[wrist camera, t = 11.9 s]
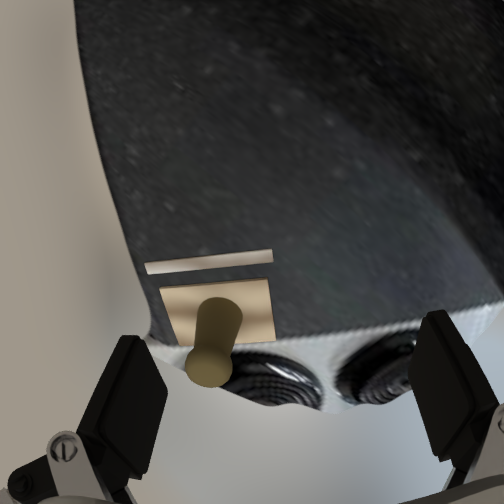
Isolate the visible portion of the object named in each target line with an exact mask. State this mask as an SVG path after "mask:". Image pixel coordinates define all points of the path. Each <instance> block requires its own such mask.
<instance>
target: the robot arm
mask: <svg viewBox="0 0 504 504" xmlns="http://www.w3.org/2000/svg"><path fill="white" fill-rule="evenodd" d="M408 379H409V382H410V384H411V387H412V390H413V393H414V396H415V398H416V401H417V404H418V407H419V410H420V413H421V416H422V420H423V423H424V426H425V429H426V432H427V435H428V439H429V442H430V445H431V449H432V452H433V454H434V456H438V458H439V461H440V462H443V461H446V460H449V459H451V461H452V465H453V469H452V471H451V473H450V475H449V477H448V479H447V481H446V483H445V485H444V487H443V489H442V491H441V492H439V493H436V494H432V495H429V496H426V497H422V498H418V499H415V500H411V501H407V502H403V503H399V504H504V403H503V404H501V405H500V404H499V402H498V400H497V398H496V396H495V394H494V392H493V390H492V388H491V386H490V384H489V382H488V380H487V378H486V376H485V374H484V373H483V371H482V369H481V367H480V365H479V363H478V361H477V360H476V358H475V356H474V354H473V352H472V351H471V349H470V347H469V346H468V345H467V344H466V343H465V342H464V340H463V338H462V337H461V335H460V333H459V332H458V330H457V328H456V327H455V325H454V323H453V322H452V320H451V318H450V317H449V315H448V314H447V312H446V311H445V310H437V311H431V312H428V313H427V315H426V317H424V318H423V319H422V322H421V326H420V330H419V334H418V338H417V341H416V345H415V348H414V352H413V355H412V359H411V362H410V365H409V368H408ZM167 396H168V390H167V387H166V385H165V383H164V381H163V379H162V377H161V375H160V373H159V371H158V369H157V366H156V364H155V362H154V360H153V358H152V356H151V354H150V352H149V349H148V347H147V345H146V343H145V341H144V340H142V339H140V337H139V336H137V335H122V336H121V337H120V339H119V341H118V343H117V345H116V347H115V349H114V351H113V353H112V355H111V357H110V359H109V361H108V363H107V365H106V367H105V369H104V371H103V373H102V375H101V377H100V379H99V382H98V384H97V386H96V388H95V390H94V392H93V395H92V397H91V399H90V401H89V403H88V406H87V408H86V410H85V413H84V415H83V417H82V419H81V422H80V424H79V426H78V429H77V431H76V433H74V432H72V431H62V432H59V433H57V434H56V435H54V436H53V437H52V438H51V439H50V441H49V443H48V445H47V450H46V451H47V454H46V455H44V456H42V457H40V458H38V459H36V460H34V461H32V462H30V463H28V464H26V465H24V466H22V467H20V468H18V469H16V470H15V471H13V472H12V474H11V475H10V477H9V479H8V485H7V486H8V489H5V488H3V489H2V490H1V491H0V504H137V502H136V500H135V499H134V497H133V495H132V493H131V491H130V490H129V488H128V486H127V483H128V480H129V478H132V479H138V480H141V479H142V475H143V474H145V473H146V472H147V470H148V467H149V463H150V459H151V455H152V452H153V448H154V444H155V440H156V436H157V433H158V429H159V425H160V421H161V418H162V414H163V411H164V407H165V403H166V400H167Z"/></svg>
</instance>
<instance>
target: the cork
mask: <svg viewBox="0 0 504 504" xmlns="http://www.w3.org/2000/svg"><path fill="white" fill-rule="evenodd" d="M242 320H243V314H242V311H241V309H240V308H239V306H238V305H237V304H236V303H234V302H233V301H231V300H229V299H226V298H223V297H213V298H209V299H207V300H205V301H203V302H202V303H201V304H200V306H199V308H198V312H197V321H196V330H195V340H194V348H193V349H192V350H191V351H190V352H189V354H188V355H187V358H186V361H185V370H186V373H187V375H188V377H189V378H190V380H192V381H193V382H194V383H196V384H198V385H200V386H203V387H209V388H213V387H218V386H221V385H223V384H224V383H225V382H227V381H228V379H229V377H230V375H231V373H232V361H231V358H230V355H231V352H232V349H233V346H234V343H235V340H236V338H237V335H238V332H239V329H240V326H241V323H242Z"/></svg>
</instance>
